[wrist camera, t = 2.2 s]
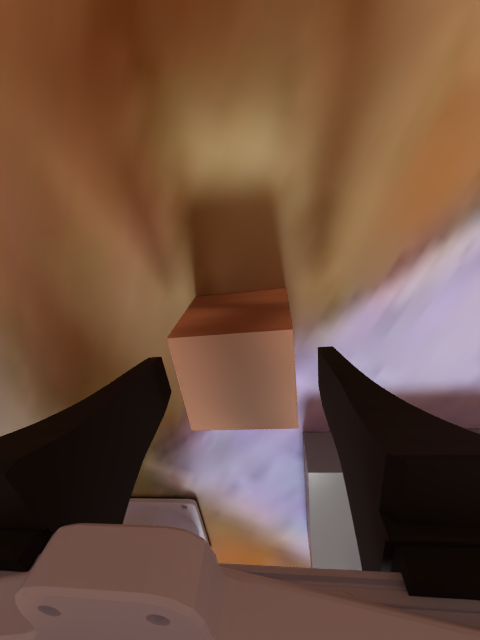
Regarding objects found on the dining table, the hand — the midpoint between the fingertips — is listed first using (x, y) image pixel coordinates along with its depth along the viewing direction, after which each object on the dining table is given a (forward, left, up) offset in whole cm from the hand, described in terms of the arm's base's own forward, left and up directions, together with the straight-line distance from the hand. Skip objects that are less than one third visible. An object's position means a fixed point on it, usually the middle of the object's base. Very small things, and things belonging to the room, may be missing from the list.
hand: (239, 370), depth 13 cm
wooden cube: (0, 0, -4) cm, 4 cm away
